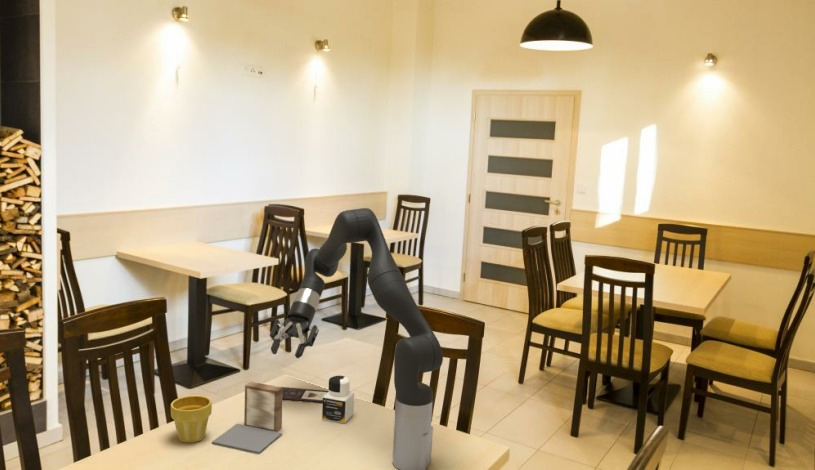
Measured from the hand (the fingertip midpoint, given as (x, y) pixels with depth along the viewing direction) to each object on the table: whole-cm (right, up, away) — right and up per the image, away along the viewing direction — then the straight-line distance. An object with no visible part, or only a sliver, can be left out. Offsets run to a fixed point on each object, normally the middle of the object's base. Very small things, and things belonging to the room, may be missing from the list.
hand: (285, 354), depth 196 cm
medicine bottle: (+15, -18, 0) cm, 24 cm away
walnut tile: (-5, -19, -9) cm, 21 cm away
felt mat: (-7, -19, -16) cm, 27 cm away
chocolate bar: (+3, -16, +15) cm, 22 cm away
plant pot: (-22, -19, -17) cm, 34 cm away
